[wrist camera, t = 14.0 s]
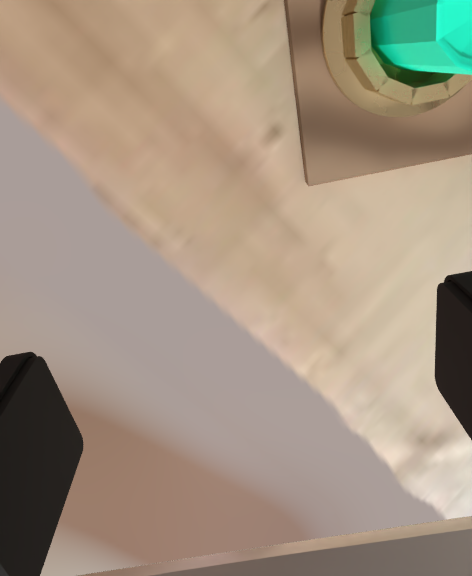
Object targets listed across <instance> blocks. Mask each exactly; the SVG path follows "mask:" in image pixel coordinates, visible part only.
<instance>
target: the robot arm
mask: <svg viewBox="0 0 472 576" xmlns="http://www.w3.org/2000/svg"><path fill="white" fill-rule="evenodd" d="M435 380H436V384H437V387H438V389H439V391H440V393H441V394H442V396H443V397H444V399H445V400H446V402H447V403H448V405H449V406H450V408H451V410H452V411H453V413H454V414H455V416H456V417H457V419H458V420H459V422H460V423H461V425H462V426H463V428H464V429H465V431H466V432H467V434H468V435H469V437H470V438H471V440H472V271H470V272H464V273H459V274H453V275H448V276H447V277H446V278H445V280H444V283H440V284H439V285H438V287H437V313H436V350H435ZM82 451H83V438H82V435H81V433H80V431H79V429H78V427H77V425H76V423H75V421H74V419H73V417H72V415H71V413H70V411H69V409H68V407H67V405H66V403H65V401H64V398H63V397H62V394H61V393H60V390H59V388H58V386H57V384H56V382H55V380H54V378H53V376H52V374H51V372H50V370H49V368H48V366H47V364H46V362H45V360H44V359H43V358H42V357H40V356H38V357H37V356H36V355H35V354H34V353H33V352H27V353H21V354H16V355H11V356H6V357H5V358H4V359H3V360H2V361H1V363H0V576H40V574H41V570H42V568H43V565H44V562H45V559H46V556H47V553H48V550H49V547H50V545H51V542H52V539H53V536H54V533H55V530H56V527H57V524H58V521H59V518H60V516H61V513H62V510H63V507H64V504H65V501H66V498H67V495H68V492H69V489H70V486H71V483H72V481H73V478H74V475H75V471H76V469H77V466H78V463H79V460H80V457H81V454H82ZM78 576H472V516H470V517H462V518H455V519H448V520H441V521H435V522H428V523H421V524H415V525H407V526H401V527H394V528H387V529H380V530H373V531H367V532H359V533H353V534H346V535H339V536H332V537H326V538H319V539H312V540H306V541H299V542H292V543H286V544H279V545H272V546H266V547H259V548H253V549H246V550H239V551H233V552H226V553H220V554H213V555H207V556H200V557H193V558H187V559H180V560H174V561H167V562H161V563H154V564H148V565H141V566H135V567H129V568H123V569H116V570H111V571H103V572H97V573H91V574H85V575H78Z"/></svg>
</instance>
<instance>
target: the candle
mask: <svg viewBox="0 0 472 576" xmlns="http://www.w3.org/2000/svg"><path fill="white" fill-rule="evenodd" d="M370 31H371V46H372V47H373V49H374V50H375V51H376V53H377V54H378V55H379V57H380V58H381V60H382V61H383V62H384V64H387V65H390V66H394V67H397V68H400V69H403V70H412V71H426V72H440V73H454V74H468V75H472V0H375V3H374V6H373V9H372V12H371V14H370Z"/></svg>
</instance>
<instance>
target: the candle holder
mask: <svg viewBox="0 0 472 576" xmlns="http://www.w3.org/2000/svg"><path fill="white" fill-rule="evenodd" d="M374 3H375V0H325V3H324V8H323V13H322V20H321V45H322V52H323V57H324V60H325V64H326V67H327V69H328V72H329V74H330V76H331V78H332V80H333V82H334V83H335V85H336V86H337V88H338V89H339V90H340V91H341V93H342V94H343V95H344V96H345V97H346V98H347V99H348V100H349V101H351V102H352V103H354V104H355V105H356V106H358V107H360V108H362V109H364V110H366V111H368V112H371V113H374V114H377V115H381V116H387V117H408V116H414V115H417V114H421V113H424V112H427V111H429V110H432V109H434V108H436V107H438V106H439V105H441V104H443V103H445V102H446V101H447V100H449V99H450V98H452V97H453V96H454V95H456V94H457V93H458V92H459V91H460V90H461V89H462V88H463V87H464V86H465V85H466V84H467V83H468V82H470V81H471V80H472V75H468V74H454V73H440V72H426V71H412V70H403V69H400V68H397V67H394V66H390V65H387V64H384V62H383V61H382V60H381V58H380V57H379V55H378V54H377V53H376V51H375V50H374V49H373V47H372V46H371V31H370V14H371V12H372V9H373V6H374Z"/></svg>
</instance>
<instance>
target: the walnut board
mask: <svg viewBox="0 0 472 576" xmlns="http://www.w3.org/2000/svg"><path fill="white" fill-rule="evenodd" d="M284 2H285V11H286V19H287V28H288V37H289V45H290V54H291V62H292V71H293V79H294V88H295V96H296V105H297V113H298V122H299V130H300V139H301V148H302V156H303V165H304V173H305V182H306V183H307V184H308V186H313V185H318V184H323V183H328V182H333V181H338V180H343V179H348V178H353V177H358V176H363V175H368V174H373V173H379V172H384V171H389V170H394V169H399V168H404V167H409V166H414V165H419V164H424V163H429V162H434V161H439V160H444V159H449V158H455V157H460V156H465V155H470V154H472V80H471V81H470V82H468V83H467V84H466V85H465V86H464V87H463V88H462V89H461V90H460V91H459V92H458V93H457V94H456V95H454V96H453V97H452V98H450V99H449V100H447V101H446V102H445V103H443V104H441V105H439V106H438V107H436V108H434V109H432V110H429V111H427V112H424V113H421V114H417V115H414V116H408V117H387V116H381V115H377V114H374V113H371V112H368V111H366V110H364V109H362V108H360V107H358V106H356V105H355V104H354V103H352V102H351V101H349V100H348V99H347V98H346V97H345V96H344V95H343V94H342V93H341V91H340V90H339V89H338V88H337V86H336V85H335V83H334V82H333V80H332V78H331V76H330V74H329V72H328V69H327V67H326V64H325V60H324V57H323V52H322V45H321V20H322V13H323V8H324V3H325V0H284Z"/></svg>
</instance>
